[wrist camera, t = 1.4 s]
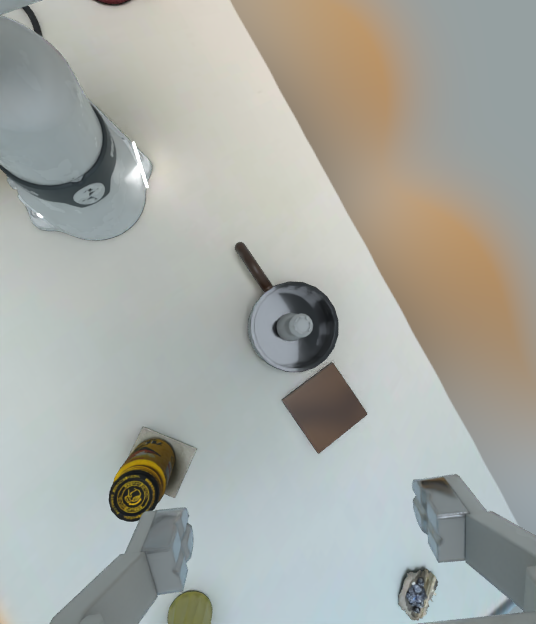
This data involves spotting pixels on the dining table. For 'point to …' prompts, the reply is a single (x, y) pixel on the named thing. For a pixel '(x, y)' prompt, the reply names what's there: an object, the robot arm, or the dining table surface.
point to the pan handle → (253, 266)
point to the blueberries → (417, 593)
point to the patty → (113, 1)
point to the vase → (190, 609)
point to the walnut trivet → (324, 407)
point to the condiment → (149, 474)
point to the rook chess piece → (294, 326)
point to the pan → (304, 349)
